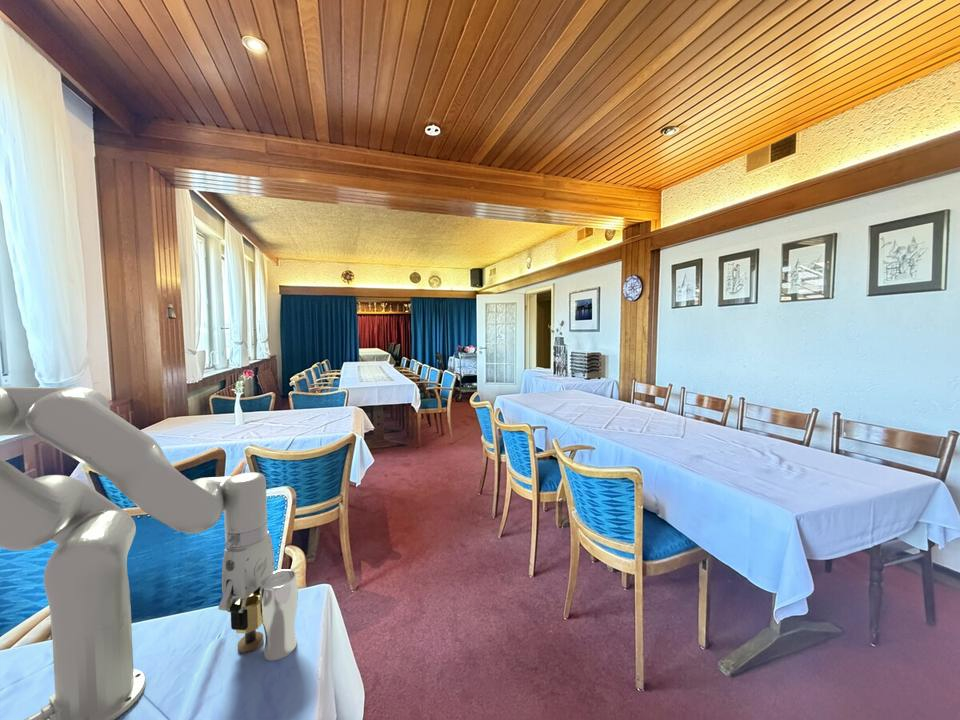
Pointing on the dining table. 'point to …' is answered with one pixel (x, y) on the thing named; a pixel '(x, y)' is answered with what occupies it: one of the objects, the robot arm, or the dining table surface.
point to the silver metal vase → (279, 613)
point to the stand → (250, 641)
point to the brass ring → (252, 613)
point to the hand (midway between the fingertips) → (249, 617)
